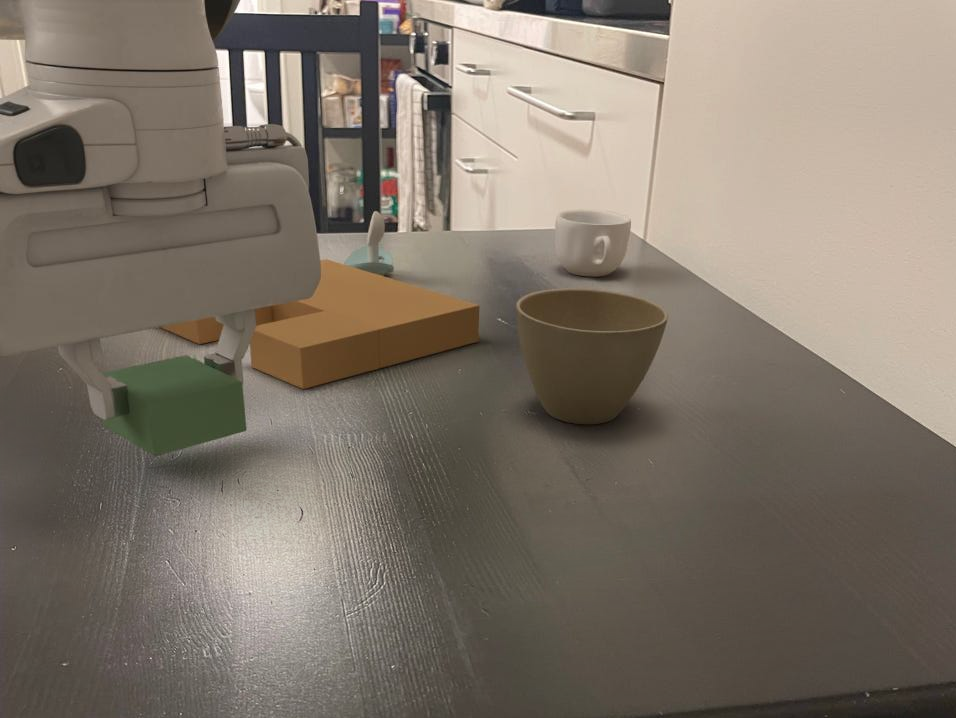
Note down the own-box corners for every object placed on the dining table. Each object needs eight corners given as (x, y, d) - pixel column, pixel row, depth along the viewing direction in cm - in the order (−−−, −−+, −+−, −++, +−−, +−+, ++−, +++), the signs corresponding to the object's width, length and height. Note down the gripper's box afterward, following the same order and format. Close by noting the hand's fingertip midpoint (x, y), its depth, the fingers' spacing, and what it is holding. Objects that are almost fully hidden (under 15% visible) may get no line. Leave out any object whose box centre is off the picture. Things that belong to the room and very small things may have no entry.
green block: (101, 424, 57) (92, 374, 55) (192, 402, 60) (186, 354, 58) (154, 457, 53) (146, 404, 51) (247, 431, 57) (242, 381, 55)
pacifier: (333, 289, 93) (395, 287, 94) (327, 219, 90) (392, 218, 90) (334, 270, 99) (392, 269, 100) (329, 204, 96) (389, 203, 96)
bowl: (489, 423, 65) (494, 315, 61) (537, 379, 73) (543, 281, 69) (633, 449, 62) (648, 338, 58) (667, 401, 70) (682, 299, 66)
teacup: (544, 263, 104) (548, 209, 101) (612, 262, 106) (618, 209, 103) (567, 286, 96) (572, 229, 93) (641, 286, 98) (648, 229, 95)
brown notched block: (157, 326, 81) (151, 289, 79) (328, 292, 92) (326, 259, 90) (303, 389, 69) (300, 347, 68) (478, 341, 80) (480, 304, 78)
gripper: (271, 115, 56) (286, 352, 64) (-107, 133, 44) (-31, 424, 51) (339, 129, 52) (346, 378, 60) (-52, 153, 40) (21, 462, 48)
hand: (170, 400), depth 56 cm, fingers closed on green block, 6 cm apart
